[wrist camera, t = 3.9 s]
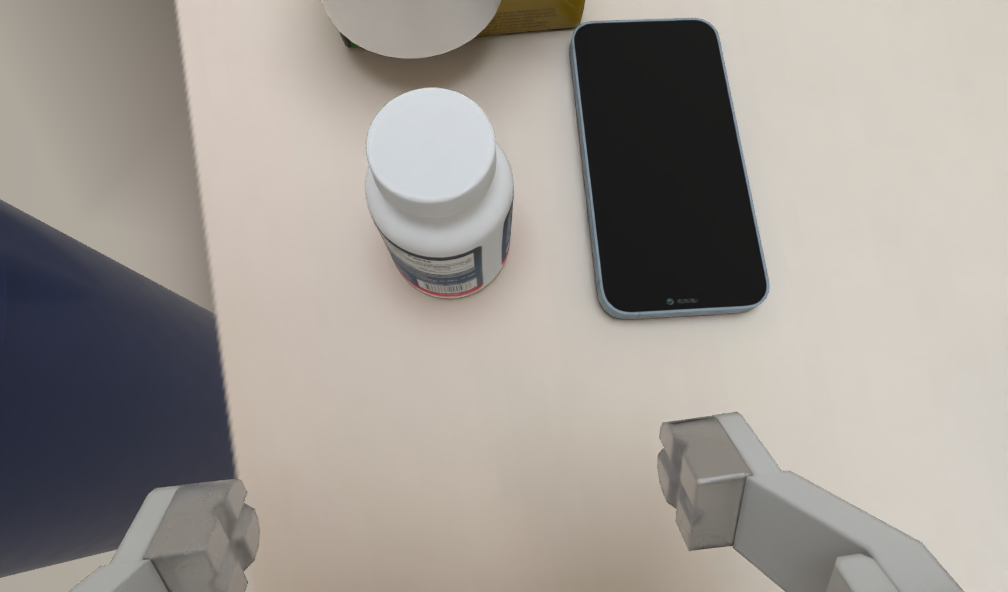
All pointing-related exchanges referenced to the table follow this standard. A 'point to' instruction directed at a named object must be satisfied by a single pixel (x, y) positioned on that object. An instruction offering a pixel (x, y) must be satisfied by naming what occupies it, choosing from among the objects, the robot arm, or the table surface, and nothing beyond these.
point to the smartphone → (664, 171)
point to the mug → (410, 24)
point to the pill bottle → (440, 191)
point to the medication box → (527, 17)
